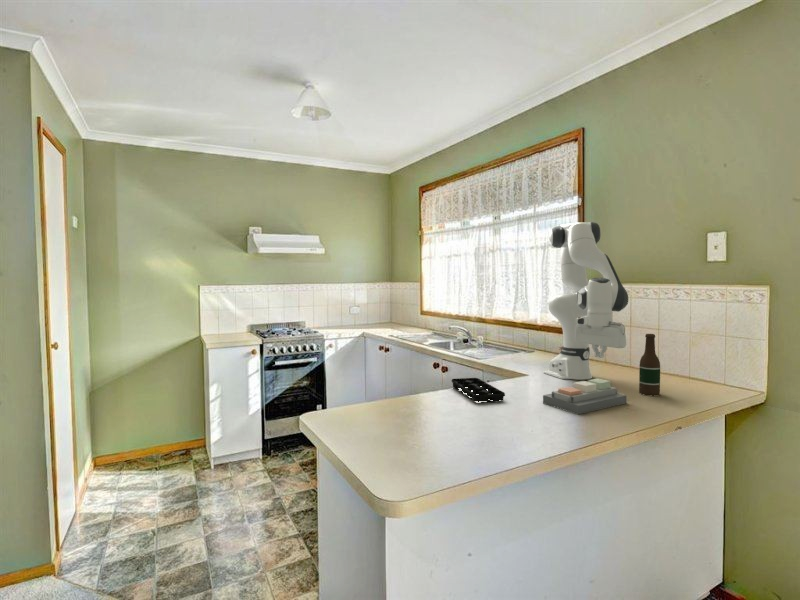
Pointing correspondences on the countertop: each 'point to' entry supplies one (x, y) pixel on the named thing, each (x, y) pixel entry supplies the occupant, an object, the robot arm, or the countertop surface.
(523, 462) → the countertop surface
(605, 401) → the keypad
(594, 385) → the cream key
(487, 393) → the egg carton
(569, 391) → the terracotta key
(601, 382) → the sage key
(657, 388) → the beer bottle
